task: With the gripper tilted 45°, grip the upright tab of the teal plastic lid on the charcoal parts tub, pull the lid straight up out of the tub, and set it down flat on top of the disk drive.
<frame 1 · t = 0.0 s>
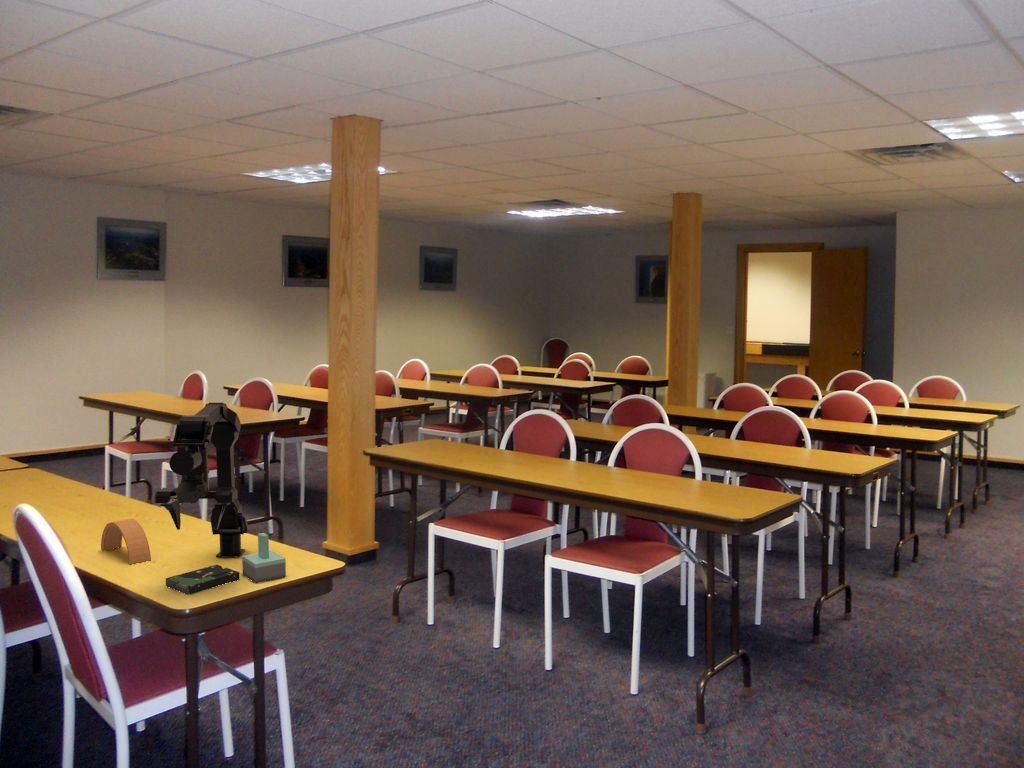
hand: (197, 529, 216), 15 cm above the table, tool pointing down, fingers open, 9 cm apart
lid: (263, 563, 226), point 3 cm above the table, touching tub
disk drive: (203, 585, 220), on the table
arch: (125, 556, 244), on the table
tub: (264, 576, 226), on the table
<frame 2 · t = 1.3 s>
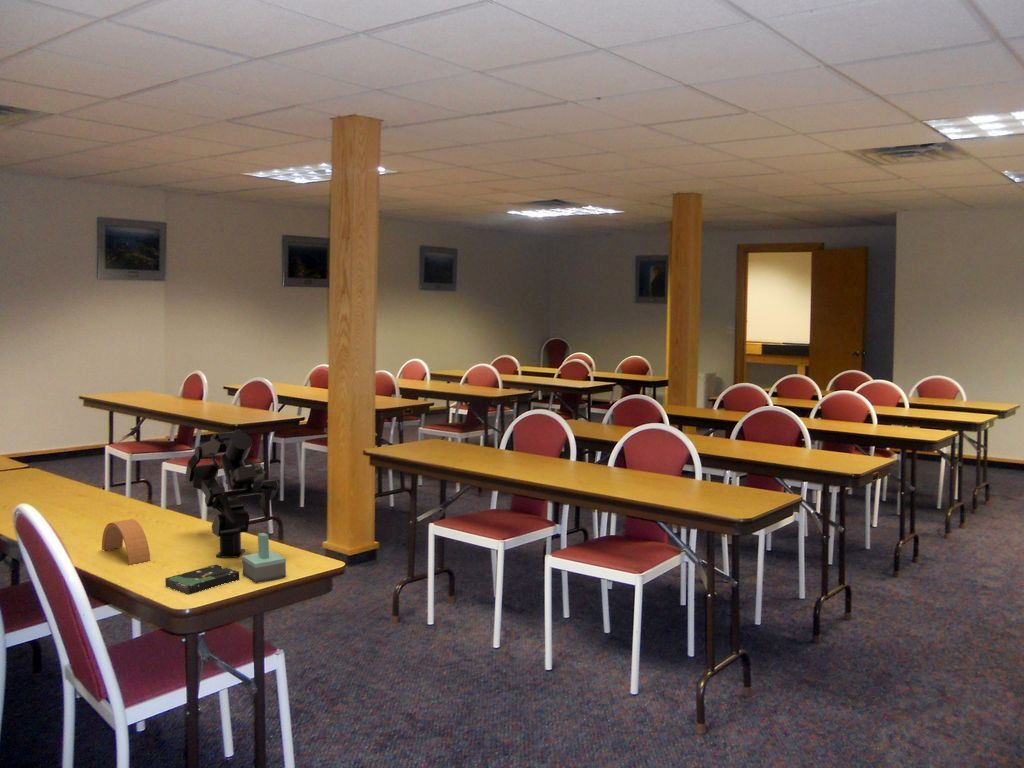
hand: (250, 519, 231), 13 cm above the table, tool tilted 45°, fingers open, 9 cm apart
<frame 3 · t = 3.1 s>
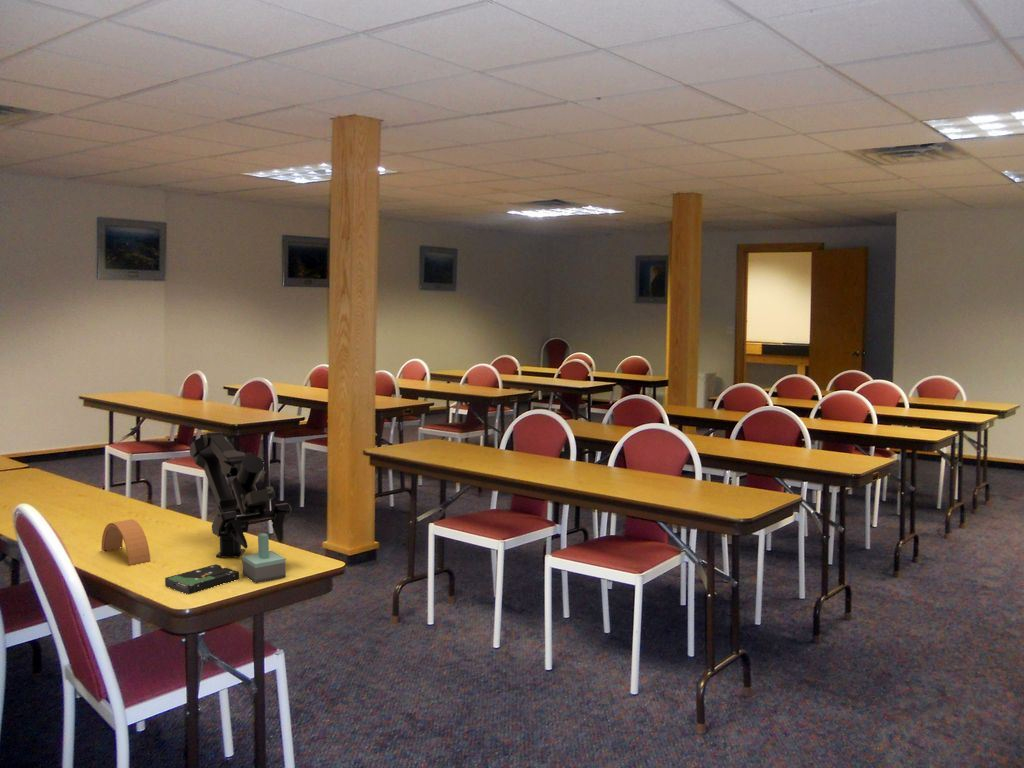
hand: (263, 544, 225), 8 cm above the table, tool tilted 45°, fingers open, 9 cm apart
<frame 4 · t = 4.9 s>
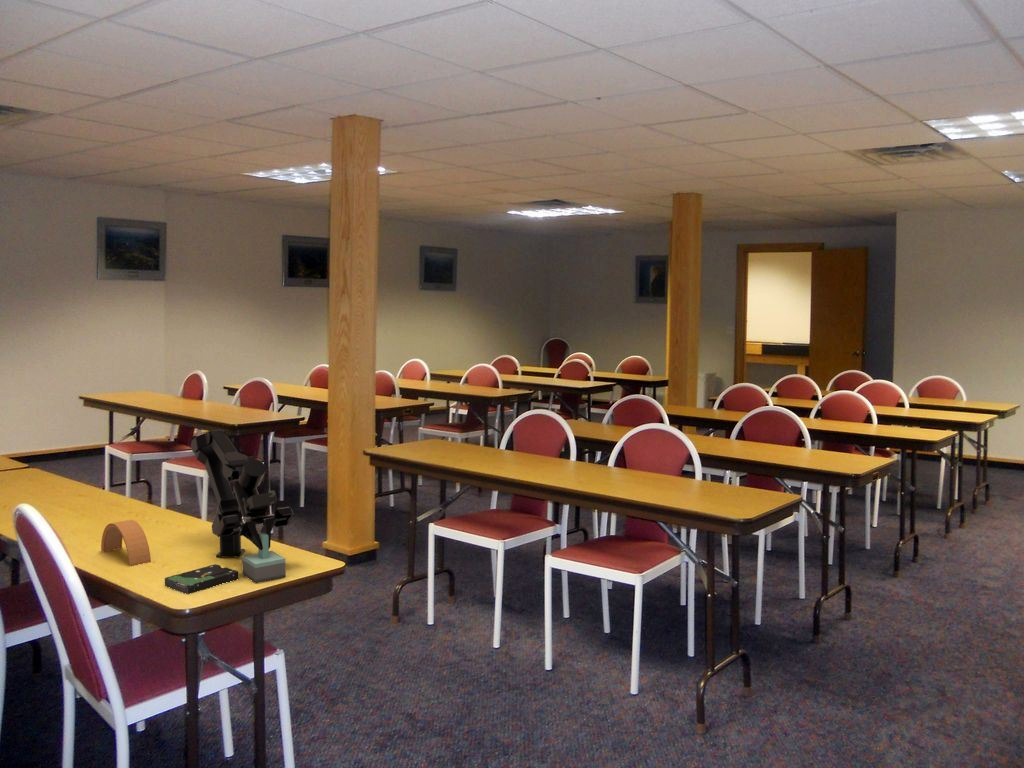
hand: (265, 548, 224), 8 cm above the table, tool tilted 45°, fingers closed on lid
lid: (263, 563, 226), point 3 cm above the table, touching gripper, tub
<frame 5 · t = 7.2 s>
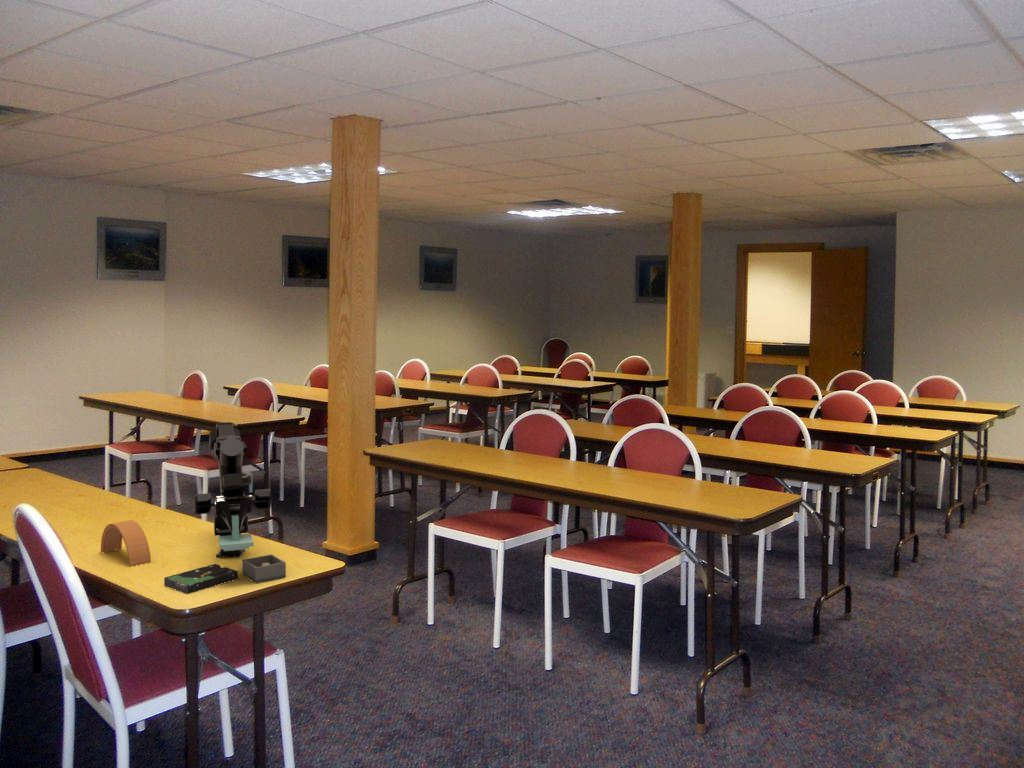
hand: (235, 529, 220), 14 cm above the table, tool tilted 45°, fingers closed on lid
lid: (235, 546, 222), point 9 cm above the table, touching gripper
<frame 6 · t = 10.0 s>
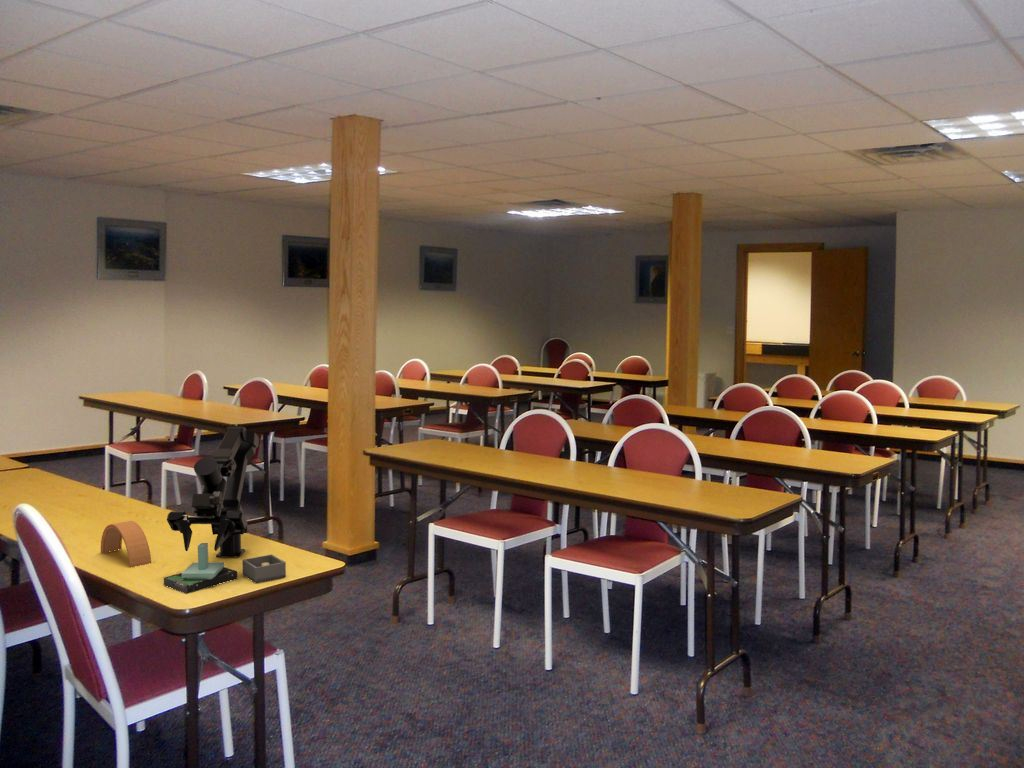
hand: (200, 550, 218), 9 cm above the table, tool tilted 45°, fingers open, 7 cm apart
lid: (203, 574, 221), point 2 cm above the table, touching disk drive
disk drive: (201, 585, 221), on the table, touching lid
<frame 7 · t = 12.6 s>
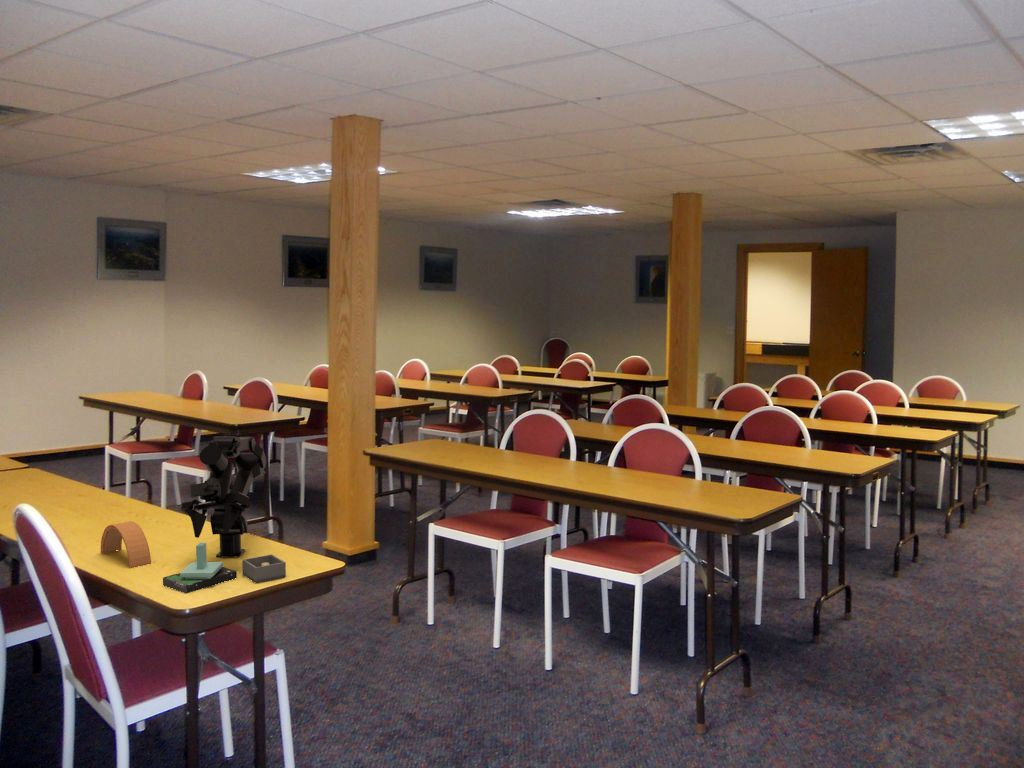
hand: (210, 535, 229), 10 cm above the table, tool tilted 35°, fingers open, 9 cm apart
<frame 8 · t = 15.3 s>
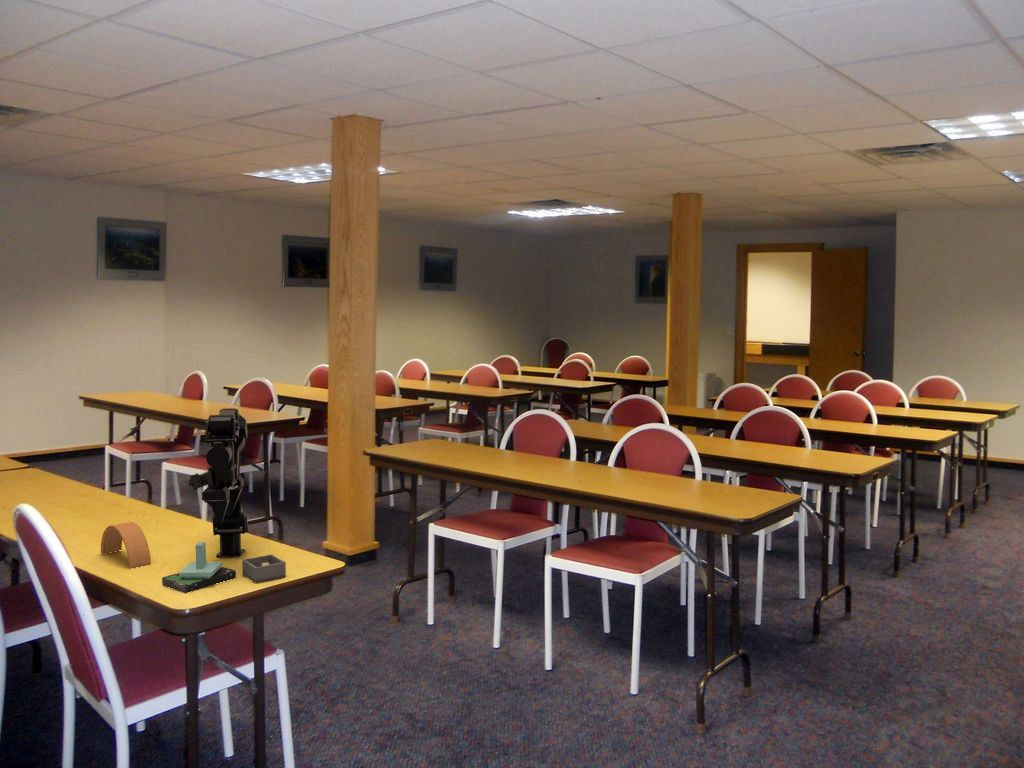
hand: (224, 519, 232), 13 cm above the table, tool pointing down, fingers open, 9 cm apart
at the end: lid inside the target area on the disk drive (0.6 cm from its centre), point 2.8 cm above the disk drive's base; lid tilted 0°; the gripper is holding nothing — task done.
